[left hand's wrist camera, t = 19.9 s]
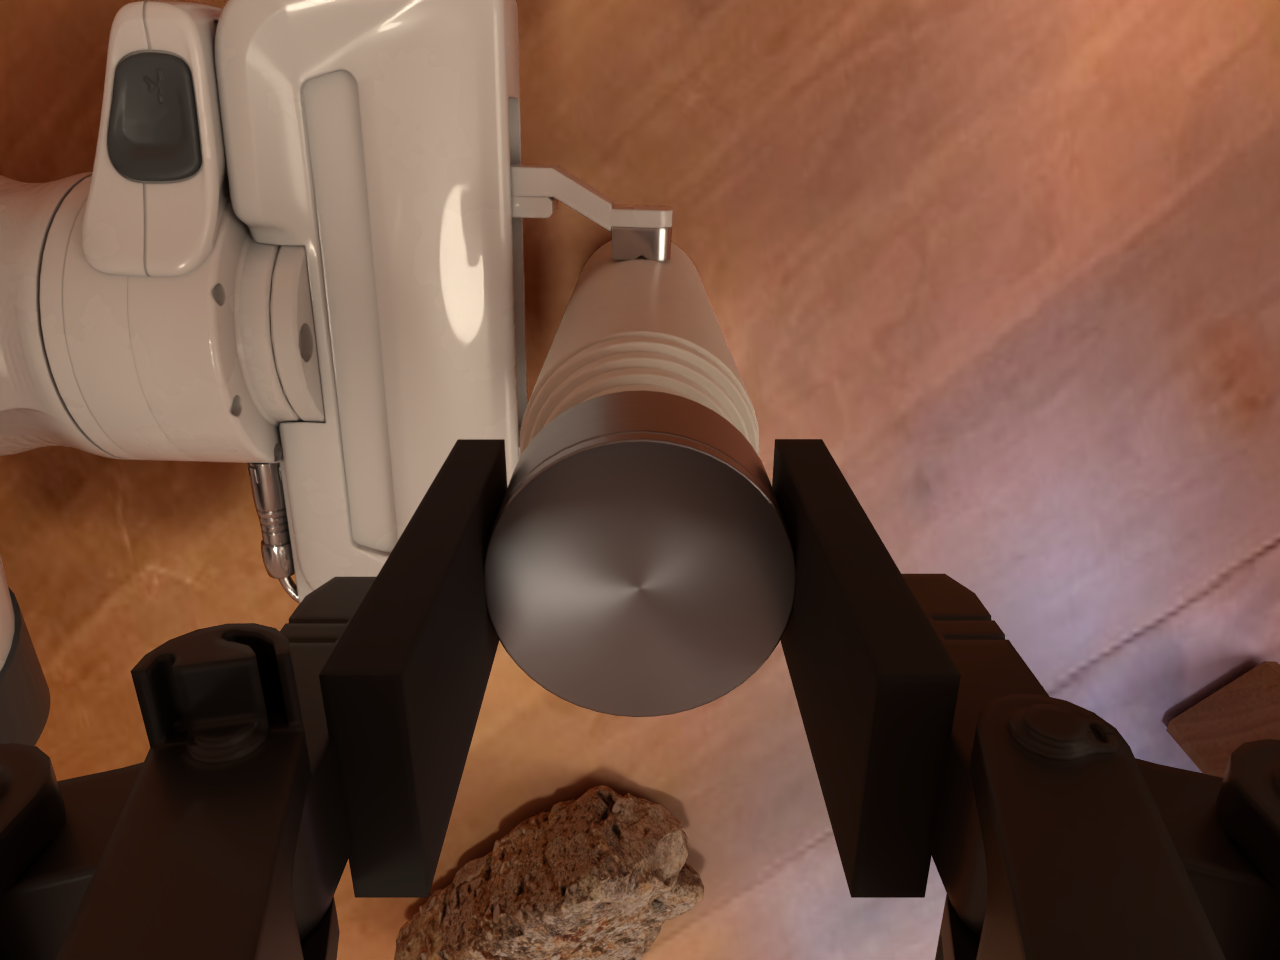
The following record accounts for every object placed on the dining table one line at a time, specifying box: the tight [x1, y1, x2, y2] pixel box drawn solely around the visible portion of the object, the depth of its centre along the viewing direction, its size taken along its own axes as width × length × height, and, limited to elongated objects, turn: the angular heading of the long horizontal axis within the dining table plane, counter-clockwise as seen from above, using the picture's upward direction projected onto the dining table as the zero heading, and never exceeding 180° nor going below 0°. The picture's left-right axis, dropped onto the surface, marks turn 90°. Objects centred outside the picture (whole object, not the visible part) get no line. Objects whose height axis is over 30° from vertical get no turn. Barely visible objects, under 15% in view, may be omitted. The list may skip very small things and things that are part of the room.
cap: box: [483, 390, 796, 717], centre depth 13 cm, size 4×4×2 cm
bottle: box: [520, 240, 760, 456], centre depth 23 cm, size 5×5×22 cm
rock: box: [394, 785, 704, 960], centre depth 41 cm, size 15×10×6 cm
